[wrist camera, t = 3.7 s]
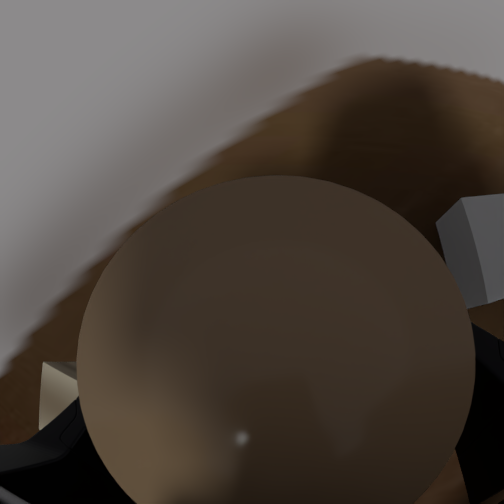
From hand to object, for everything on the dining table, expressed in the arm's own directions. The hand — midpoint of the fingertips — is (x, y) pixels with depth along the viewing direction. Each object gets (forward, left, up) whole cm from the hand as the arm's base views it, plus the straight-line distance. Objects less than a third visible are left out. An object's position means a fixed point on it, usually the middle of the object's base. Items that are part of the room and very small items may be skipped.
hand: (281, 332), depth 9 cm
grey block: (+9, -10, -8) cm, 15 cm away
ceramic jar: (-1, 0, -8) cm, 8 cm away
